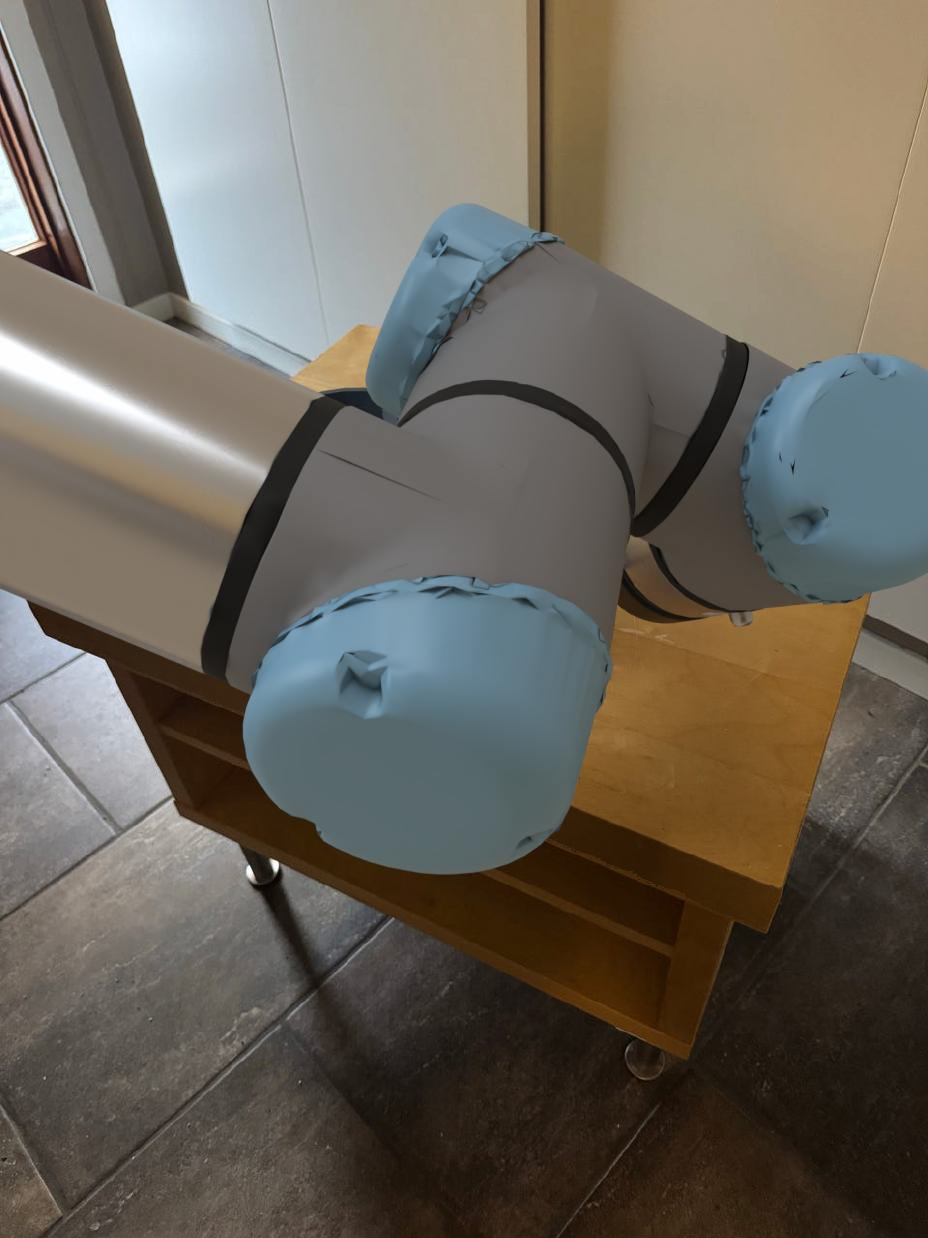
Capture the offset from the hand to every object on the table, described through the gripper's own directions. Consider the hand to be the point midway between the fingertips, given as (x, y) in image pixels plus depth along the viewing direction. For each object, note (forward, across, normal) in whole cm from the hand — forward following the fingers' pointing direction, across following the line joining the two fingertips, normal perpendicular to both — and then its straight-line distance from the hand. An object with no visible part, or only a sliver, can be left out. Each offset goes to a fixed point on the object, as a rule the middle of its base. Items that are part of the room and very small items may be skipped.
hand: (568, 583), depth 64 cm
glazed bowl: (+32, -10, +18) cm, 38 cm away
